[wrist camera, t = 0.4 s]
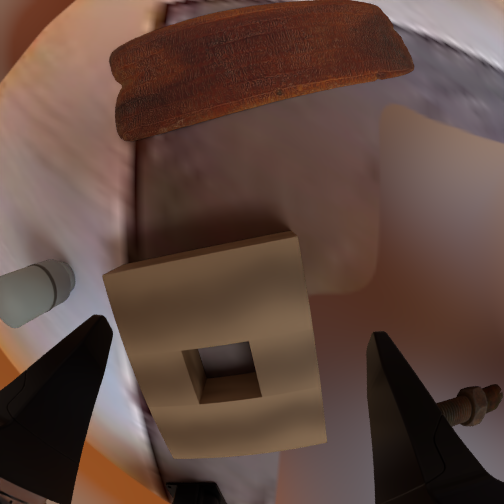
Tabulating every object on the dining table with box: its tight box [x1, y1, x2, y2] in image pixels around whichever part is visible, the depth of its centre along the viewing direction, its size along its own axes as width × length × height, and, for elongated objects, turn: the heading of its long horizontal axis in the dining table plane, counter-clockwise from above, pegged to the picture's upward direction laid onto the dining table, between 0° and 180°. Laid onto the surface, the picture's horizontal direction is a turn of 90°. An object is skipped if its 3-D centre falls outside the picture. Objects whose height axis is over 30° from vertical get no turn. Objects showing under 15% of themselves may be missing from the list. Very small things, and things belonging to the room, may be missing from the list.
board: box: [102, 231, 327, 459], centre depth 24 cm, size 18×14×4 cm
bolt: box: [436, 384, 503, 426], centre depth 24 cm, size 6×5×15 cm
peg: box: [0, 260, 75, 328], centre depth 21 cm, size 4×4×8 cm
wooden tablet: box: [109, 0, 414, 141], centre depth 21 cm, size 27×10×2 cm, turn 104°
